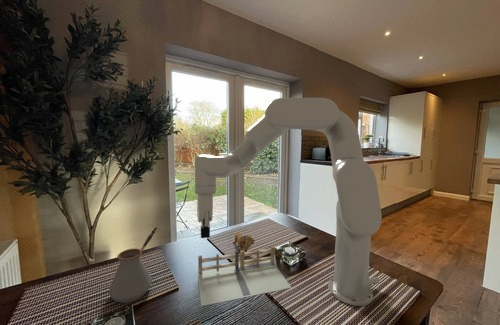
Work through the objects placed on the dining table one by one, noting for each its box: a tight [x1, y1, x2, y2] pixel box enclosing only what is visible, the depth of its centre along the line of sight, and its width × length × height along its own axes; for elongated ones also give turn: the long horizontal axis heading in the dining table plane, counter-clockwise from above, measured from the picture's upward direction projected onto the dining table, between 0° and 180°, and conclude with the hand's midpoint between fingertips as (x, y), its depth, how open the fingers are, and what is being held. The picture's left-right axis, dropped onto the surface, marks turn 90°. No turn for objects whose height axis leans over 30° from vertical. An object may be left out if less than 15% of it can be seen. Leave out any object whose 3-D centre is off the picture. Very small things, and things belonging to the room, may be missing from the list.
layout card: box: [197, 260, 292, 307], centre depth 73 cm, size 28×18×1 cm, turn 107°
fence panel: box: [197, 249, 240, 275], centre depth 75 cm, size 14×1×6 cm, turn 107°
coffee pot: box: [108, 226, 161, 304], centre depth 70 cm, size 21×12×15 cm, turn 174°
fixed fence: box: [239, 245, 276, 270], centre depth 79 cm, size 13×1×7 cm, turn 107°
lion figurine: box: [232, 232, 256, 253], centre depth 91 cm, size 15×5×9 cm, turn 35°
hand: (205, 236), depth 80 cm, fingers closed
